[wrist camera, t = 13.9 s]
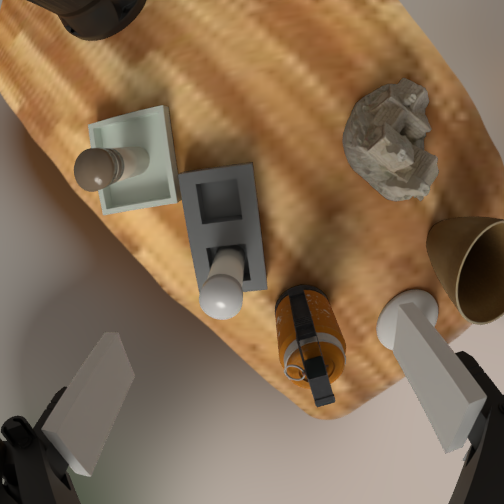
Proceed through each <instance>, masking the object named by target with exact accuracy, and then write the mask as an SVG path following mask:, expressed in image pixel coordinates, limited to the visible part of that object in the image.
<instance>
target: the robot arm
mask: <svg viewBox="0 0 504 504" xmlns="http://www.w3.org/2000/svg"><path fill="white" fill-rule="evenodd" d="M27 1H30V2H32V3H34V4H36V5H38V6H40V7H43V8H45V9H47V10H49V11H51V12H53V13H55V14H57V15H58V17H59V18H60V20H61V22H62V24H63V25H64V27H65V28H66V30H67V31H68V32H69V33H71V34H72V35H74V36H76V37H78V38H80V39H83V40H88V41H95V40H101V39H105V38H108V37H110V36H112V35H114V34H116V33H118V32H120V31H121V30H123V29H124V28H125V27H126V26H128V25H129V24H130V23H131V22H132V21H133V20H134V19H135V18H136V17H137V15H138V14H139V13H140V11H141V10H142V8H143V6H144V4H145V2H146V0H27ZM393 354H394V355H395V357H396V359H397V361H398V363H399V364H400V366H401V368H402V370H403V372H404V373H405V375H406V377H407V379H408V381H409V383H410V384H411V386H412V388H413V390H414V392H415V394H416V395H417V398H418V399H419V401H420V403H421V405H422V407H423V409H424V411H425V413H426V415H427V417H428V419H429V421H430V423H431V425H432V427H433V429H434V431H435V433H436V435H437V437H438V439H439V441H440V443H441V445H442V447H443V449H444V452H445V454H446V453H448V452H451V451H454V450H456V449H459V448H462V447H463V445H464V443H465V442H466V440H467V438H468V439H469V441H470V443H471V444H472V445H471V446H470V448H469V450H468V452H467V453H466V455H465V457H464V458H463V461H465V463H464V466H463V469H462V471H461V474H460V477H459V479H458V482H457V484H456V487H455V489H454V492H453V495H452V497H451V499H450V501H449V504H504V395H502V394H501V392H500V391H499V390H498V388H497V387H496V386H495V384H494V383H493V382H492V380H491V379H490V378H489V377H488V376H487V374H486V373H484V371H483V369H482V368H481V367H480V366H479V364H478V363H477V361H476V360H475V359H474V358H473V357H472V356H470V355H469V354H467V353H466V352H464V351H461V352H458V353H454V352H453V350H452V349H451V348H450V346H449V345H448V344H447V343H446V341H445V340H444V339H443V338H442V336H441V335H440V334H439V333H438V331H437V330H436V329H435V328H434V327H433V325H432V324H431V323H430V322H429V321H428V319H427V318H426V317H425V316H424V315H423V313H422V312H421V311H420V310H419V309H418V307H417V306H416V305H415V304H414V303H413V302H411V303H405V304H399V305H398V315H397V324H396V333H395V340H394V348H393ZM134 377H135V375H134V372H133V370H132V368H131V365H130V363H129V360H128V358H127V355H126V352H125V350H124V347H123V344H122V342H121V339H120V336H119V334H118V332H105V333H104V335H103V336H102V337H101V339H100V340H99V342H98V343H97V344H96V346H95V347H94V349H93V350H92V352H91V353H90V355H89V356H88V357H87V359H86V360H85V362H84V363H83V365H82V366H81V368H80V369H79V371H78V372H77V374H76V375H75V377H74V378H73V380H72V381H71V383H70V384H69V386H68V387H63V388H62V389H61V390H60V391H58V392H57V393H56V394H55V396H54V397H53V399H52V400H51V403H49V405H48V406H47V409H46V410H45V411H44V412H43V414H42V416H41V417H40V419H39V420H38V422H37V423H36V425H35V427H34V428H33V429H32V427H31V426H30V424H29V423H28V422H27V420H26V419H25V418H24V417H22V416H14V417H11V418H10V419H8V420H7V421H6V422H5V423H4V424H3V426H2V427H1V433H2V434H3V436H4V437H5V438H6V440H7V441H2V440H1V439H0V504H81V503H80V501H79V499H78V496H77V494H76V491H75V488H74V486H73V484H72V481H71V478H70V476H69V474H68V473H67V471H66V470H67V468H68V465H69V466H70V467H71V468H72V469H73V471H74V472H75V473H77V474H81V475H85V476H90V477H91V475H92V473H93V470H94V468H95V465H96V463H97V461H98V458H99V456H100V454H101V451H102V449H103V447H104V444H105V442H106V440H107V437H108V435H109V433H110V430H111V428H112V426H113V423H114V421H115V419H116V416H117V414H118V412H119V410H120V408H121V405H122V403H123V401H124V399H125V396H126V394H127V392H128V390H129V387H130V386H131V383H132V381H133V379H134ZM2 478H3V479H4V480H5V482H4V484H2Z"/></svg>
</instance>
